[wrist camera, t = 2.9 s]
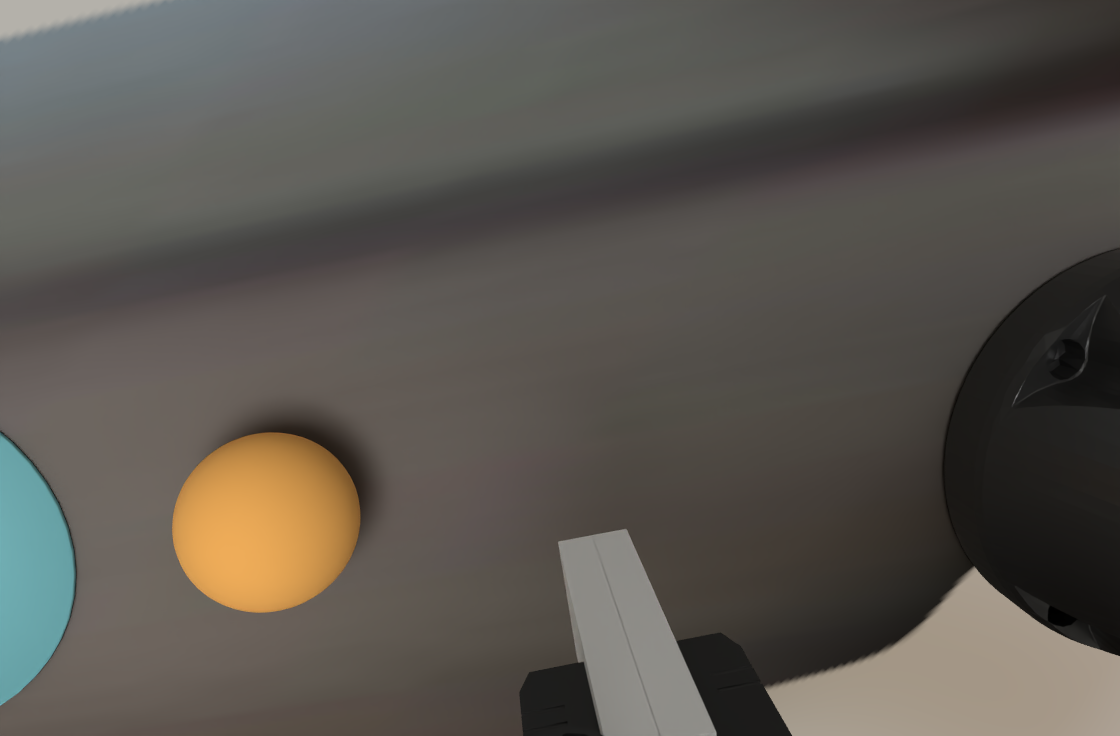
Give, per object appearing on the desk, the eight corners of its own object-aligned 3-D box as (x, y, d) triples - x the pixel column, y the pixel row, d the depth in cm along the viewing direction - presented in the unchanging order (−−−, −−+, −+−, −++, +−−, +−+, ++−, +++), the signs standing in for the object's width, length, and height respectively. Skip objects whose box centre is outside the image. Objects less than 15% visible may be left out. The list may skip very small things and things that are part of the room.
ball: (352, 399, 27) (322, 451, 22) (385, 546, 28) (363, 629, 23) (189, 426, 27) (117, 486, 22) (229, 574, 28) (170, 665, 23)
